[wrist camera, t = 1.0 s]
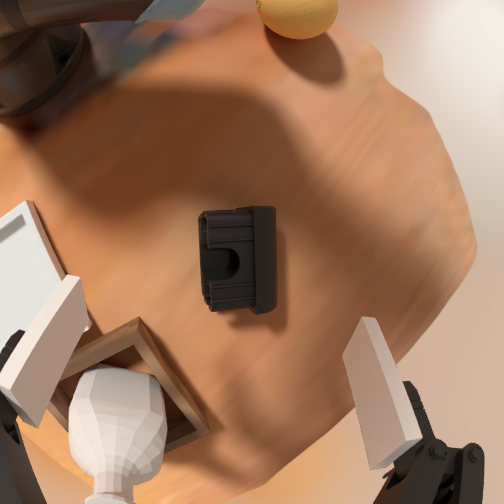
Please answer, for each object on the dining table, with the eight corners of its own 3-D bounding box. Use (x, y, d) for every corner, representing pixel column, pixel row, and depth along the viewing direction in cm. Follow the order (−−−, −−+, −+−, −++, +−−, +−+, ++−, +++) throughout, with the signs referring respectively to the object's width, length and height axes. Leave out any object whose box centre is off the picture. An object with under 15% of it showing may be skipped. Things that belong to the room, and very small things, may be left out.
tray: (-48, 263, 23) (-56, 265, 21) (32, 200, 26) (25, 200, 24) (7, 369, 26) (2, 376, 24) (92, 323, 30) (89, 329, 28)
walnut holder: (38, 368, 28) (28, 384, 24) (139, 316, 31) (137, 329, 27) (110, 454, 31) (109, 473, 28) (204, 413, 35) (211, 432, 31)
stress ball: (310, 55, 35) (351, 6, 29) (305, 50, 27) (357, -11, 21) (251, 19, 33) (290, -30, 28) (230, 7, 25) (279, -54, 20)
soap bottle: (154, 431, 33) (177, 582, 11) (82, 416, 30) (57, 564, 8) (165, 371, 33) (196, 537, 11) (85, 353, 30) (32, 508, 8)
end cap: (263, 294, 35) (287, 311, 29) (202, 301, 33) (213, 320, 27) (261, 207, 34) (285, 205, 28) (197, 209, 32) (208, 207, 26)
